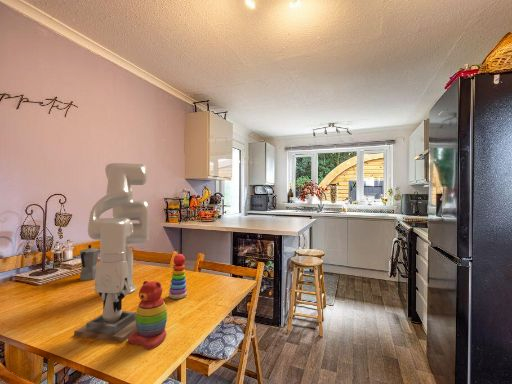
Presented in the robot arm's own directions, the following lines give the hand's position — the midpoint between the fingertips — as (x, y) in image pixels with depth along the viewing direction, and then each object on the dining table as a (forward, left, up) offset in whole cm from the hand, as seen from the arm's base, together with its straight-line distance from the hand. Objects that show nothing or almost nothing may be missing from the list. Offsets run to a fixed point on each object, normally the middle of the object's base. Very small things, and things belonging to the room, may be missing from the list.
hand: (112, 311), depth 90 cm
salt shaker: (0, 0, -3) cm, 3 cm away
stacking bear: (+16, -2, -6) cm, 17 cm away
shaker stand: (0, 0, -6) cm, 6 cm away
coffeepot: (-52, +44, -6) cm, 68 cm away
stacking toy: (+7, +32, -6) cm, 33 cm away
